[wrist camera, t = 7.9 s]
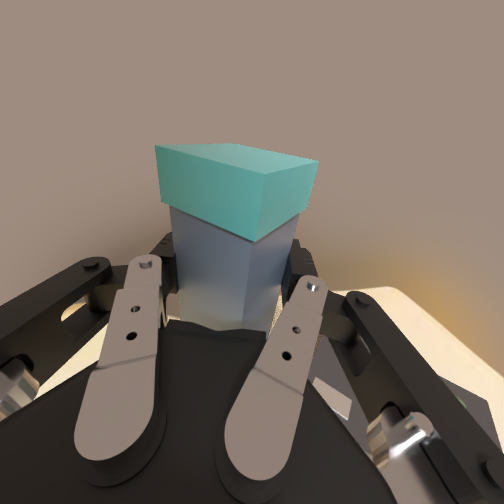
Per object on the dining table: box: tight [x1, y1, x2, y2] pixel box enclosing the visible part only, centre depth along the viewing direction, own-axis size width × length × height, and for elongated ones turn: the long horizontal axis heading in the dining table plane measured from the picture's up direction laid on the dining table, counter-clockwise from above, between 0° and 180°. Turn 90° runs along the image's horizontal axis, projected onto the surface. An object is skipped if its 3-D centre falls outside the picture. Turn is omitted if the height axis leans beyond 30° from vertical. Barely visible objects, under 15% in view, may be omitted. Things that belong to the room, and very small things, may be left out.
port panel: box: [307, 335, 503, 462], centre depth 23 cm, size 18×13×3 cm
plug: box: [155, 144, 319, 340], centre depth 12 cm, size 4×4×14 cm
